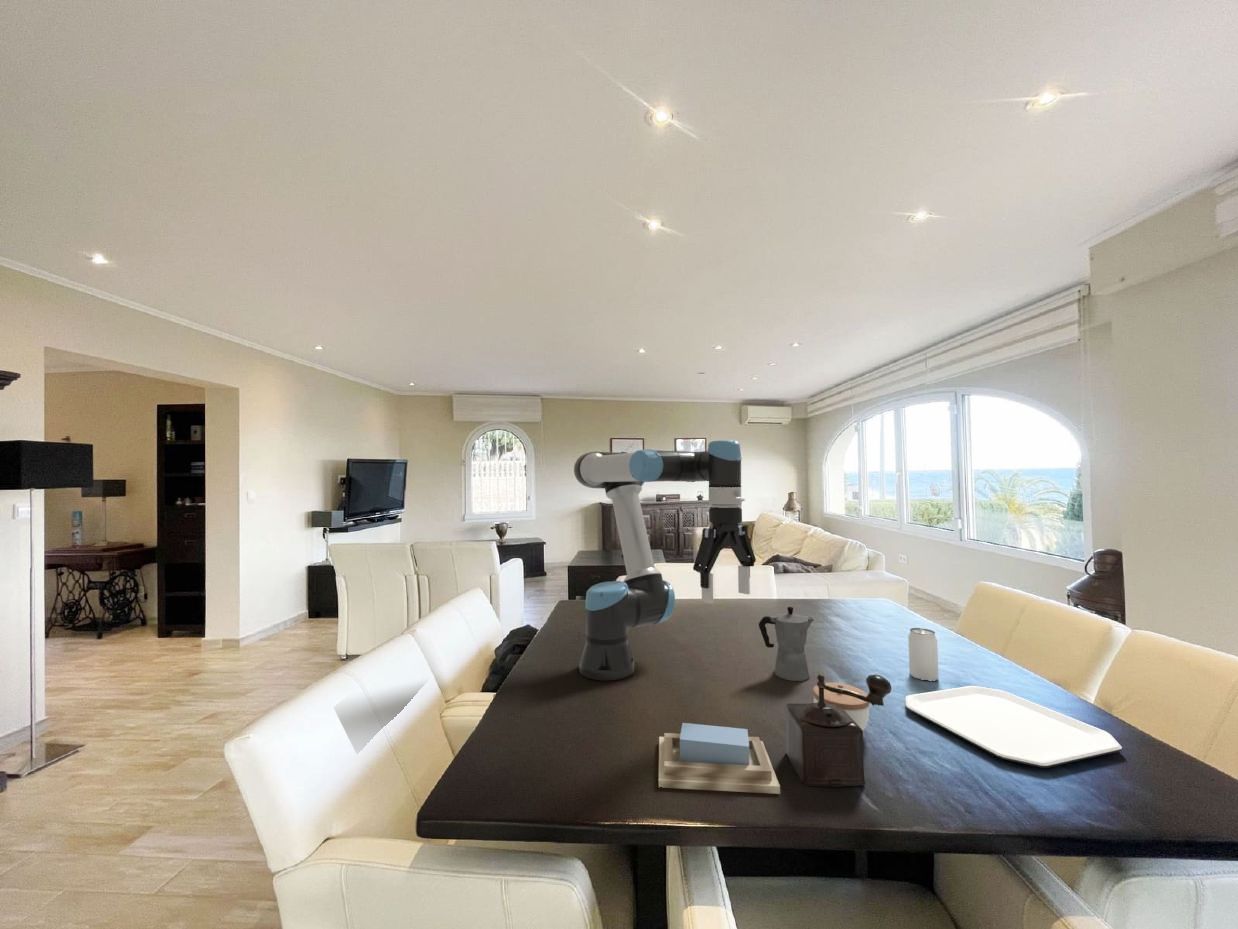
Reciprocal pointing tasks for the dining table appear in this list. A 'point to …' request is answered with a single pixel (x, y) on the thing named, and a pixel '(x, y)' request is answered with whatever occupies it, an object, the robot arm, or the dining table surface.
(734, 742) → the blue block
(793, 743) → the coffee grinder
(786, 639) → the coffeepot
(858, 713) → the lidded jar
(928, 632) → the can
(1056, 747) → the plate
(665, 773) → the slot holder
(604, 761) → the dining table surface
